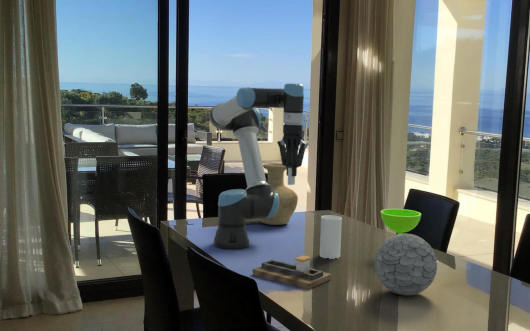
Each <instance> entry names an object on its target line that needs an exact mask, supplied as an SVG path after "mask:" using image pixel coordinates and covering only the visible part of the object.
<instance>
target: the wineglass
mask: <svg viewBox="0 0 530 331" xmlns="http://www.w3.org/2000/svg"><path fill="white" fill-rule="evenodd" d="M380 216H381V220H382V223H383V224H384V225H385V227H387V229H389V230H390V231H393V232H395V233H396V235H397V234H405V233H407V232H410V231H412V230H413V229H415V228H416V227H417V226H418V225H419V223H420V221H421V217H422V213H421V212H419V211H416V210H412V209H405V208H404V209H403V208H386V209H381V210H380Z"/></svg>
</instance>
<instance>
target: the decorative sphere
mask: <svg viewBox="0 0 530 331" xmlns="http://www.w3.org/2000/svg"><path fill="white" fill-rule="evenodd" d="M374 269H375V273H376V275H377V278H378V280H379V281H380V283H381V284H382V285H383V287H385V288H386V289H387V290H389V291H390V292H392V293H394V294H396V295H401V296H414V295H418V294H420V293H422V292H424V291H426V290H427V289H428V288H429V287H430V286H431V284H432V283H433V282H434V280H435V278H436V275H437V272H438V260H437V256H436V254H435V251H434V250H433V248H432V246H431V244H429V243H428V242H427V241H426V240H425V239H424V238H422V237H420V236H418V235H416V234H412V233H407V232H404V233H402V234H397V233H396V234H394V235H391V236H389V237H388V238H387V239H386V240H384V241H383V242H382V243H381V244H380V246H379V247H378V249H377V251H376V254H375V257H374Z"/></svg>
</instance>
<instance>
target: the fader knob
mask: <svg viewBox="0 0 530 331" xmlns="http://www.w3.org/2000/svg"><path fill="white" fill-rule="evenodd" d="M294 260H295V262H296V264H295V265H296V270H298V271H301V272H306V273H309V274H310V269H311V268H310V267H311V260H312V257H311V256H308V255H300V256H297V257H295V259H294Z"/></svg>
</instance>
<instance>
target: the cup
mask: <svg viewBox="0 0 530 331" xmlns="http://www.w3.org/2000/svg"><path fill="white" fill-rule="evenodd" d="M342 223H343V219H342V216H340V215H333V214H331V215H330V214H327V215H326V214H325V215H322V216H321V217H320V237H319V238H320V239H319V240H320V242H319V257H321V258H322V259H326V258H329V259H328V260H336V259H335V258H337V259H340V258H341V247H342V246H341V244H342V226H343V224H342ZM339 257H340V258H339Z"/></svg>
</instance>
